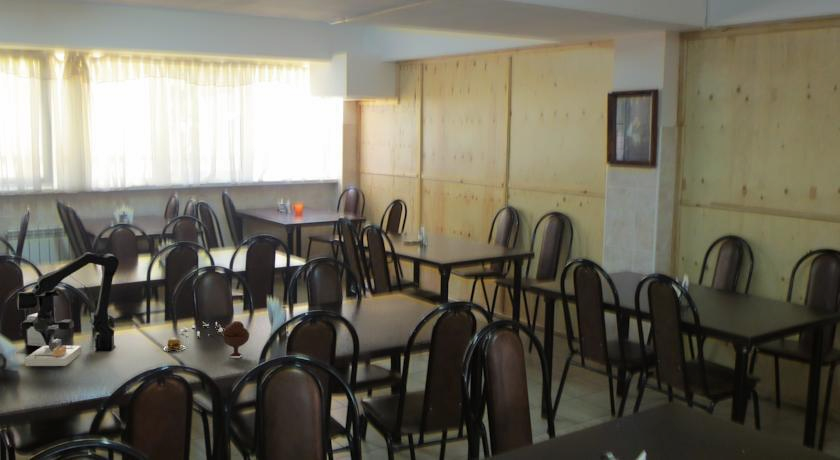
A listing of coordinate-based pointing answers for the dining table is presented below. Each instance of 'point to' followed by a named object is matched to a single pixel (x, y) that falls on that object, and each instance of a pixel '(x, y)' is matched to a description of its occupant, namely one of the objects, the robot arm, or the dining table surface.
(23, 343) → the dining table surface
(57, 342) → the block
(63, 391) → the dining table surface
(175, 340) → the cake on plate
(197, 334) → the game piece set
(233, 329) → the ice cream bowl
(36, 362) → the fader panel
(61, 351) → the fader orange
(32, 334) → the supplement box
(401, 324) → the dining table surface
